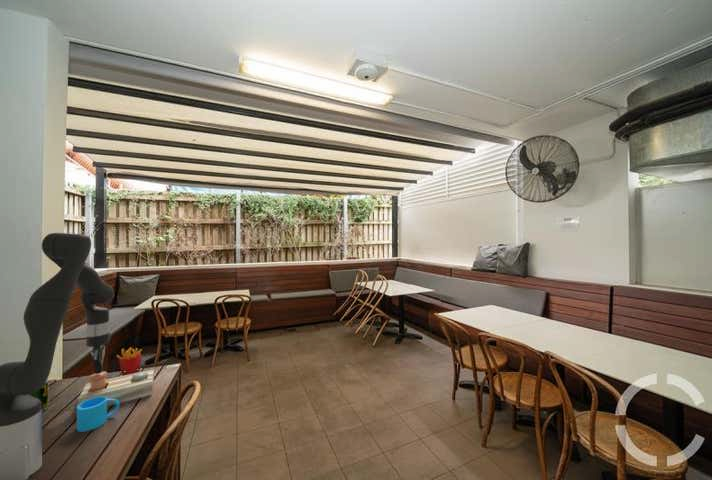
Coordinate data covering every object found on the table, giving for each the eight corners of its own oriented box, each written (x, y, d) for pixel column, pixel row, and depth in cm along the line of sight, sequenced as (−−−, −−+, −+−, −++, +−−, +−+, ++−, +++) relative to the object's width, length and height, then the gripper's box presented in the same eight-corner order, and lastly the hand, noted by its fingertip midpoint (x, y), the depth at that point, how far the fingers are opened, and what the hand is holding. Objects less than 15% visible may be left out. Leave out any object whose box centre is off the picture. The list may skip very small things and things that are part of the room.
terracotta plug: (105, 391, 117) (105, 375, 117) (88, 395, 114) (88, 378, 114) (108, 386, 121) (107, 370, 121) (91, 389, 118) (91, 373, 118)
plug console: (152, 394, 123) (152, 381, 123) (78, 413, 109) (77, 399, 109) (153, 381, 134) (153, 369, 134) (86, 397, 121) (86, 383, 121)
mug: (78, 435, 97) (78, 412, 97) (75, 425, 103) (75, 403, 103) (121, 418, 107) (121, 397, 107) (117, 409, 112) (117, 390, 112)
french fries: (129, 372, 143) (129, 344, 143) (145, 372, 143) (145, 344, 143) (114, 381, 134) (114, 351, 134) (131, 381, 134) (131, 351, 134)
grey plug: (146, 390, 125) (146, 375, 125) (131, 394, 122) (131, 378, 122) (147, 385, 129) (147, 370, 129) (132, 389, 126) (132, 374, 126)
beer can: (26, 415, 108) (25, 385, 108) (32, 408, 113) (31, 379, 113) (45, 410, 111) (45, 381, 111) (50, 404, 116) (50, 376, 116)
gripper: (107, 335, 114) (107, 376, 114) (112, 327, 125) (112, 364, 125) (82, 339, 110) (82, 382, 110) (89, 330, 121) (90, 369, 121)
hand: (98, 372), depth 118 cm, fingers closed
